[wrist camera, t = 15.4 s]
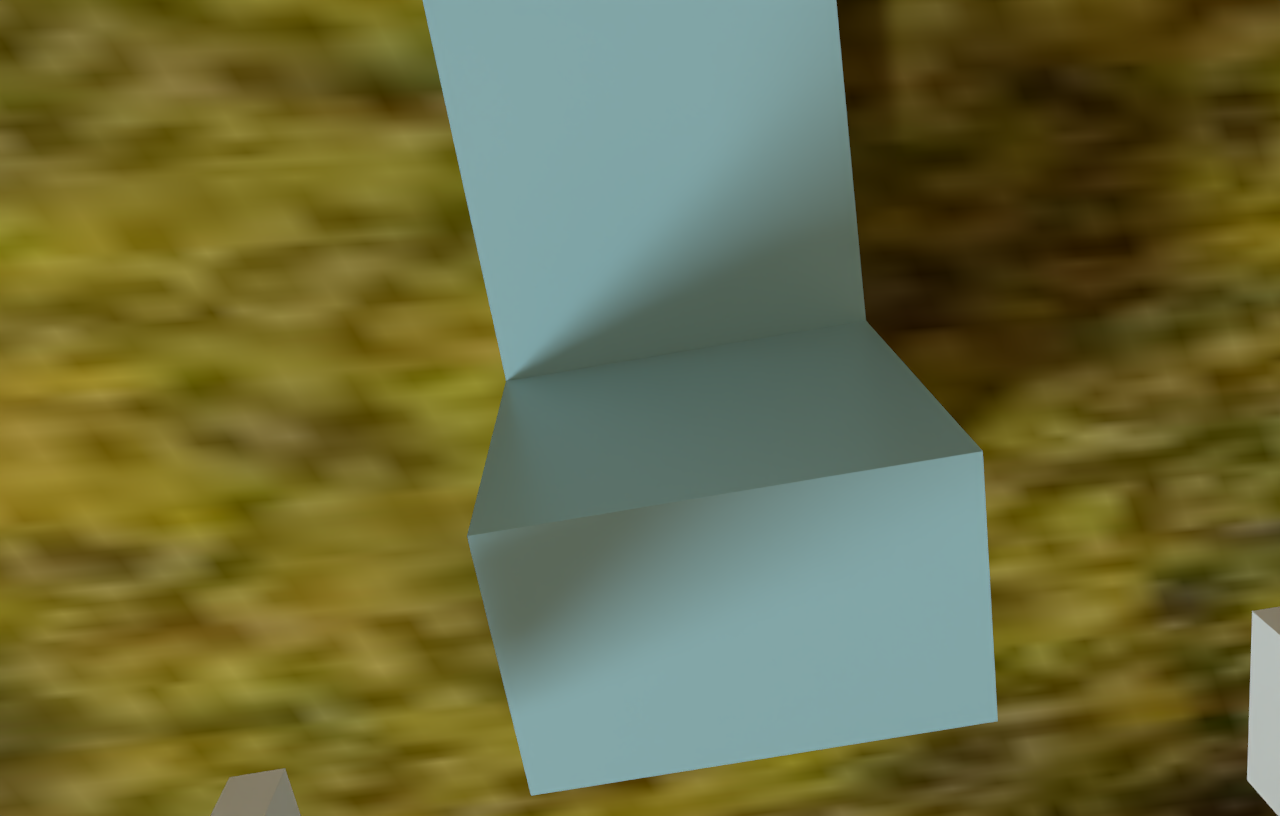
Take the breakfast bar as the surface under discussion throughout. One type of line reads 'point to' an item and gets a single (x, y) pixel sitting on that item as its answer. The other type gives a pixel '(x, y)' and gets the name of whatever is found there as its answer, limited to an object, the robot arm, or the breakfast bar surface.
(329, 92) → the breakfast bar surface
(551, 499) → the light blue l-bracket
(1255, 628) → the robot arm
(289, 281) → the breakfast bar surface
